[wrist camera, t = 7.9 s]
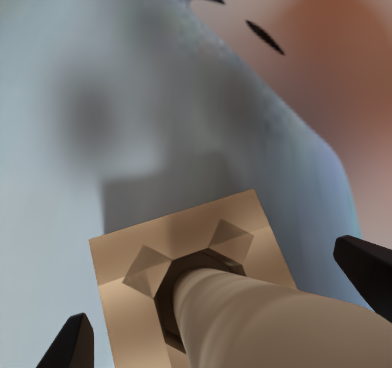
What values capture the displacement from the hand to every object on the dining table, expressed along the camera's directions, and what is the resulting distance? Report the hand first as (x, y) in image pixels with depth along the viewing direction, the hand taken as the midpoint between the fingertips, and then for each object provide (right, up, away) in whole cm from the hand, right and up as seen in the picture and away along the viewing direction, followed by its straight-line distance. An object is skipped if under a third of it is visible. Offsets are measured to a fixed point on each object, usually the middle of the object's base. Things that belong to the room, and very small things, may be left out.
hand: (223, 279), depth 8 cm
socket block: (-1, -5, +9) cm, 11 cm away
